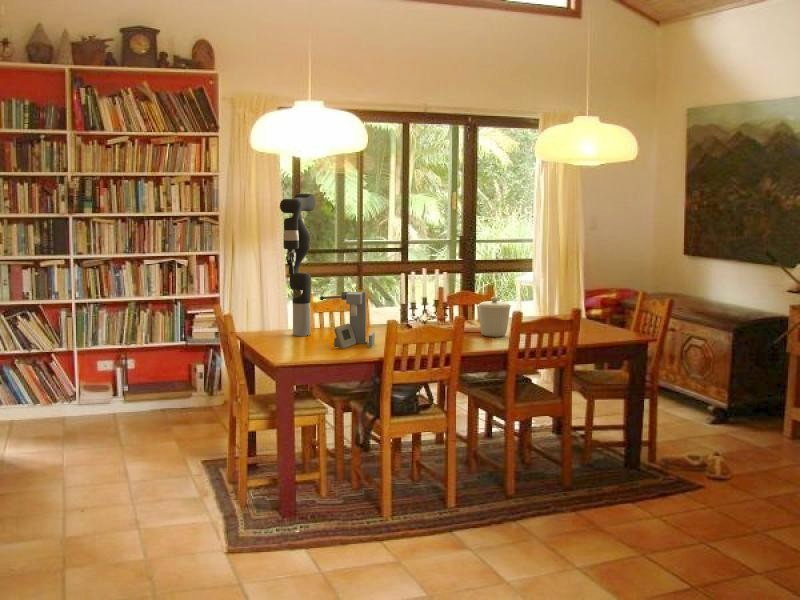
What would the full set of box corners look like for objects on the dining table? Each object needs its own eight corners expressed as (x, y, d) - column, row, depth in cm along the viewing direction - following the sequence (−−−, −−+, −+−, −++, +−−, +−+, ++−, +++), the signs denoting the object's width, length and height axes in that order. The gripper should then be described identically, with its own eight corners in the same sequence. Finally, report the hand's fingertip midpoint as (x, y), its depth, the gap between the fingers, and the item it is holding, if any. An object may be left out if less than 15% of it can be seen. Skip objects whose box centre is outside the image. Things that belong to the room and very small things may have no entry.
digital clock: (342, 350, 419) (342, 328, 417) (327, 348, 424) (327, 326, 422) (361, 345, 432) (361, 324, 431) (346, 343, 437) (346, 322, 436)
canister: (499, 339, 452) (500, 299, 449) (470, 335, 462) (471, 296, 460) (516, 335, 466) (517, 296, 463) (488, 331, 477) (488, 293, 474)
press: (342, 342, 440) (342, 291, 436) (375, 343, 438) (375, 292, 435) (337, 347, 426) (337, 294, 423) (371, 347, 425) (372, 295, 422)
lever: (320, 300, 436) (320, 295, 436) (347, 298, 435) (347, 293, 434) (319, 300, 434) (319, 296, 433) (346, 298, 432) (346, 293, 432)
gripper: (295, 240, 423) (296, 275, 425) (301, 238, 436) (301, 272, 438) (280, 239, 423) (280, 275, 426) (286, 238, 437) (286, 272, 439)
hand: (291, 274), depth 432 cm, fingers closed
